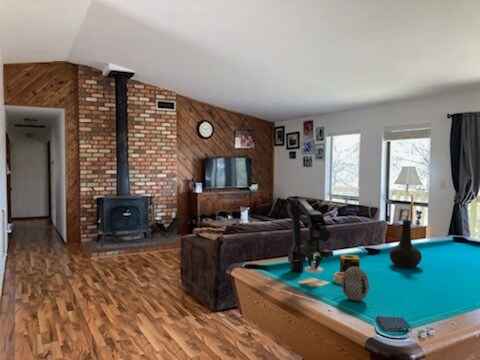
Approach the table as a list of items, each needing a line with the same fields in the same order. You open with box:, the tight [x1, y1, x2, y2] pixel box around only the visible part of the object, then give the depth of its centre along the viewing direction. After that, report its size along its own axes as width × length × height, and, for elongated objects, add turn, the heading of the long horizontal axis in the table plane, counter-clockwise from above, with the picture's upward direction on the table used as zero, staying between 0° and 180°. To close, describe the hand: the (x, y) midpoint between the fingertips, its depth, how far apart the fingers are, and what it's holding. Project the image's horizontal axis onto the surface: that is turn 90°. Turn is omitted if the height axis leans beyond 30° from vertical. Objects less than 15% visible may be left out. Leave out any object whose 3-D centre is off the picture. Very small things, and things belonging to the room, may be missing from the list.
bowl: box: [333, 271, 345, 285], centre depth 192 cm, size 9×9×4 cm
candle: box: [339, 254, 361, 272], centre depth 208 cm, size 10×10×10 cm
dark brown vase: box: [389, 219, 423, 269], centre depth 227 cm, size 18×18×28 cm
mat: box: [297, 277, 331, 289], centre depth 191 cm, size 12×12×1 cm
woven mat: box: [375, 315, 412, 331], centre depth 142 cm, size 10×11×2 cm
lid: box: [304, 260, 324, 274], centre depth 190 cm, size 9×9×4 cm
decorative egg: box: [341, 266, 370, 302], centre depth 168 cm, size 12×12×15 cm
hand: (313, 268), depth 190 cm, fingers closed on lid, 3 cm apart
